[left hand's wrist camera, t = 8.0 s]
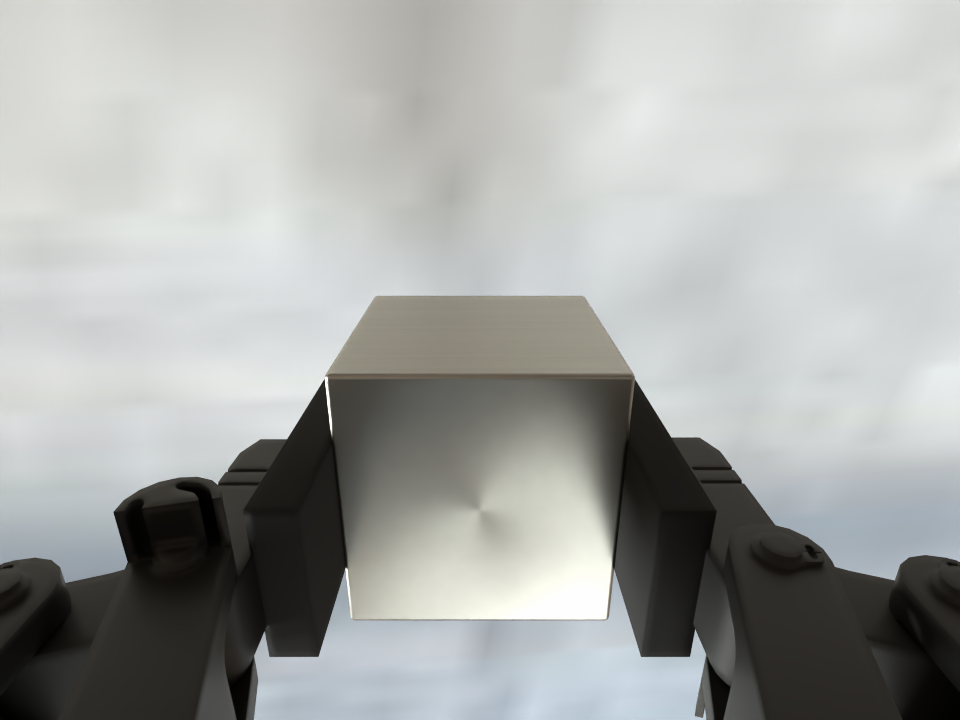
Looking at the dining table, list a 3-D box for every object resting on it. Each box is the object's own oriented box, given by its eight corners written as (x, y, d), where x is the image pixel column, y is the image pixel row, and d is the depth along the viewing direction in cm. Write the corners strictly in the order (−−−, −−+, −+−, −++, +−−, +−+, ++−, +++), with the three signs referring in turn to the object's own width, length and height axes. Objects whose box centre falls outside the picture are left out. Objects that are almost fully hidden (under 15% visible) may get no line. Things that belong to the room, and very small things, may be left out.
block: (585, 295, 14) (636, 374, 9) (572, 480, 16) (609, 622, 11) (374, 295, 14) (322, 374, 9) (387, 480, 16) (349, 622, 11)
